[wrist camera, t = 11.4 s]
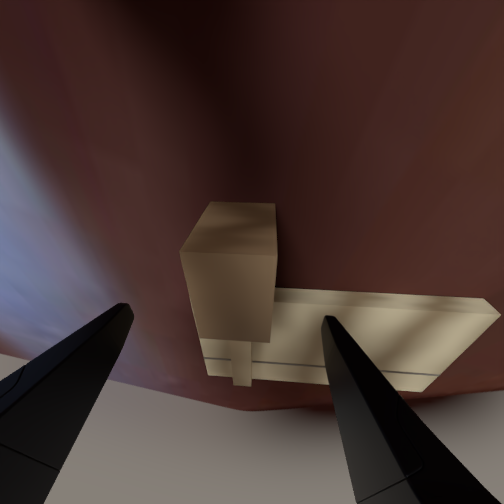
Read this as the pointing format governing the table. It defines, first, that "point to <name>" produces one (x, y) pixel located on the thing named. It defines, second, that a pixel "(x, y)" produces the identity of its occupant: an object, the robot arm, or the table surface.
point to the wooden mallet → (233, 277)
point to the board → (361, 335)
